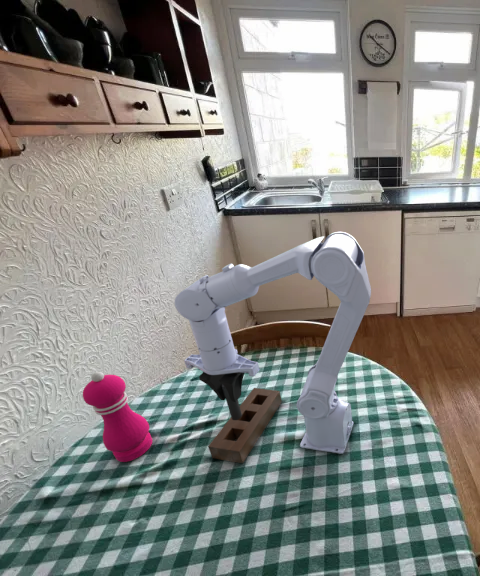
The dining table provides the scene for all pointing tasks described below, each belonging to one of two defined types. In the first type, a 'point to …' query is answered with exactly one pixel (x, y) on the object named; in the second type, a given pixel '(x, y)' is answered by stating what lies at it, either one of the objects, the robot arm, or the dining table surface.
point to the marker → (232, 405)
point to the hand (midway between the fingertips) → (231, 397)
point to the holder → (245, 426)
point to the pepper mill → (117, 417)
